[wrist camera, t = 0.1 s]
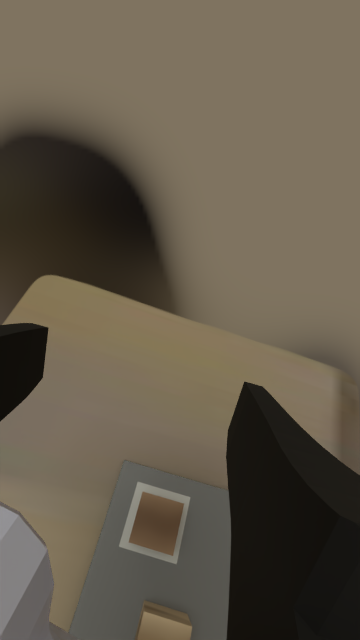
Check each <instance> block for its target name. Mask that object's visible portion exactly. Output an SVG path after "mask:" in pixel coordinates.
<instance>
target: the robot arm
mask: <svg viewBox="0 0 360 640" xmlns="http://www.w3.org/2000/svg"><path fill="white" fill-rule="evenodd" d="M47 335H48V328H47V327H44V326H40V325H36V324H33V323H19V324H8V325H0V421H1V420H2V419H3V418H5V417H6V416H7V415H8V414H9V413H10V412H11V411H12V410H13V409H15V408H16V407H17V406H18V405H19V404H20V403H21V402H22V401H23V400H24V399H25V398H26V397H27V396H28V395H29V394H30V393H31V392H32V390H33V389H34V388H35V387H36V386H37V384H38V383H39V382H40V381H41V379H42V378H43V371H44V362H45V353H46V344H47ZM226 459H227V475H228V489H229V503H230V517H231V554H230V582H229V604H228V623H227V640H360V475H358V474H357V473H355V472H354V471H352V470H351V469H350V468H348V467H347V466H346V465H344V464H343V463H342V462H340V461H339V460H338V459H337V458H336V457H334V456H333V455H332V454H331V453H329V452H328V451H327V450H326V449H324V448H323V447H322V446H321V445H320V444H319V443H318V442H316V441H315V440H314V439H313V438H312V437H311V436H310V435H309V434H308V433H307V432H306V431H305V430H304V429H303V428H301V427H300V426H299V425H298V424H297V422H296V421H295V420H294V419H293V418H292V417H291V416H290V415H289V414H288V413H287V412H286V411H285V410H284V409H283V408H282V407H281V406H280V404H279V403H278V402H277V401H276V400H275V399H274V398H273V397H272V396H271V395H270V394H269V393H268V391H267V390H265V389H264V388H263V387H262V386H259V385H255V384H252V383H248V382H244V384H243V387H242V390H241V393H240V396H239V399H238V402H237V405H236V408H235V411H234V414H233V417H232V420H231V423H230V426H229V429H228V438H227V453H226ZM53 588H54V581H53V576H52V571H51V565H50V560H49V555H48V550H47V547H46V544H45V542H44V541H43V539H42V538H41V537H40V536H39V535H38V533H37V532H36V531H35V530H34V529H33V527H32V526H31V525H30V524H29V523H28V521H27V520H26V519H25V518H24V517H23V515H22V514H21V513H20V512H19V511H17V510H15V509H13V508H11V507H9V506H7V505H6V504H4V503H2V502H0V640H79V639H78V638H76V637H74V636H73V635H71V634H69V633H68V632H66V631H64V630H63V629H61V628H59V627H58V626H56V625H54V624H53V623H51V622H49V612H50V606H51V600H52V594H53Z"/></svg>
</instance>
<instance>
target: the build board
mask: <svg viewBox="0 0 360 640" xmlns="http://www.w3.org/2000/svg"><path fill="white" fill-rule="evenodd" d="M142 492H146V493H150V494H153V495H156V496H160V497H163V498H167V499H170V500H173V501H177V502H180V503H183V504H184V507H183V511H182V516H181V521H180V525H179V530H178V535H177V539H176V544H175V549H174V553H173V556H171V555H168V554H165V553H162V552H158V551H155V550H152V549H149V548H145V547H142V546H139V545H136V544H132V543H129V538H130V535H131V531H132V528H133V524H134V521H135V517H136V513H137V510H138V506H139V503H140V499H141V495H142ZM230 554H231V517H230V503H229V491H228V490H224V489H221V488H218V487H214V486H211V485H207V484H204V483H201V482H197V481H194V480H190V479H187V478H184V477H180V476H177V475H173V474H170V473H167V472H163V471H160V470H156V469H153V468H150V467H146V466H143V465H139V464H136V463H132V462H129V461H126V460H124V462H123V465H122V468H121V472H120V475H119V478H118V481H117V484H116V487H115V490H114V493H113V496H112V500H111V503H110V506H109V509H108V512H107V515H106V518H105V521H104V524H103V528H102V531H101V534H100V537H99V540H98V543H97V546H96V549H95V552H94V555H93V559H92V562H91V565H90V568H89V571H88V574H87V577H86V580H85V583H84V587H83V590H82V593H81V596H80V599H79V602H78V605H77V608H76V611H75V615H74V618H73V621H72V624H71V627H70V630H69V634H71V635H73V636H74V637H76V638H78V639H79V640H135V636H136V632H137V628H138V623H139V619H140V615H141V611H142V607H143V603H144V600H145V601H149V602H152V603H155V604H158V605H161V606H164V607H168V608H171V609H174V610H177V611H180V612H183V613H187V614H188V617H189V620H190V622H191V625H192V631H191V637H190V640H227V623H228V604H229V582H230Z"/></svg>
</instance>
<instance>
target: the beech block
mask: <svg viewBox="0 0 360 640" xmlns="http://www.w3.org/2000/svg"><path fill="white" fill-rule="evenodd" d="M191 631H192V625H191V622H190V620H189V617H188V614H187V613H183V612H180V611H177V610H174V609H171V608H168V607H164V606H161V605H158V604H155V603H152V602H149V601H145V600H144V603H143V607H142V611H141V615H140V619H139V623H138V628H137V632H136V636H135V640H190V637H191Z"/></svg>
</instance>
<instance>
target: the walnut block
mask: <svg viewBox="0 0 360 640" xmlns="http://www.w3.org/2000/svg"><path fill="white" fill-rule="evenodd" d="M183 507H184V504H183V503H180V502H177V501H173V500H170V499H167V498H163V497H160V496H156V495H153V494H150V493H146V492H142V495H141V499H140V503H139V506H138V510H137V513H136V517H135V521H134V524H133V528H132V531H131V535H130V538H129V543H132V544H136V545H139V546H142V547H145V548H149V549H152V550H155V551H158V552H162V553H165V554H168V555H171V556H173V553H174V549H175V544H176V539H177V535H178V530H179V525H180V521H181V516H182V511H183Z"/></svg>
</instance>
